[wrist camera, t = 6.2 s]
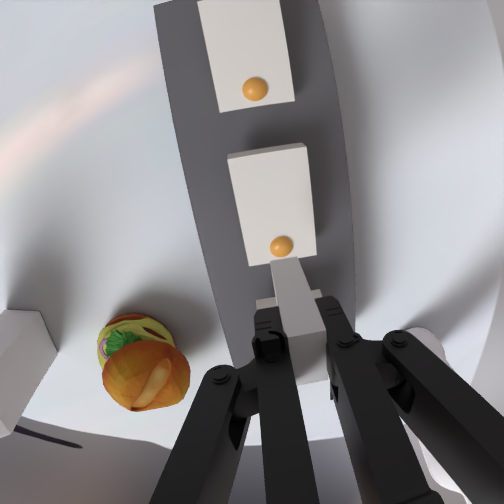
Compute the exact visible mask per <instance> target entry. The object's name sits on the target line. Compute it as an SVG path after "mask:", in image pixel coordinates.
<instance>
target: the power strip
mask: <svg viewBox="0 0 504 504" xmlns="http://www.w3.org/2000/svg"><path fill="white" fill-rule="evenodd" d="M198 1H202V0H172V1H168V2H165V3H161V4H158V5H154V13H155V20H156V27H157V33H158V40H159V46H160V52H161V58H162V64H163V69H164V75H165V81H166V86H167V92H168V97H169V102H170V108H171V113H172V118H173V123H174V128H175V133H176V138H177V143H178V147H179V152H180V157H181V162H182V166H183V171H184V175H185V180H186V184H187V189H188V193H189V198H190V202H191V206H192V211H193V215H194V219H195V223H196V227H197V232H198V236H199V240H200V244H201V248H202V252H203V256H204V260H205V264H206V268H207V272H208V275H209V279H210V283H211V287H212V291H213V294H214V298H215V302H216V306H217V309H218V313H219V316H220V320H221V324H222V327H223V331H224V334H225V338H226V341H227V345H228V348H229V352H230V355H231V359H232V362H233V365H234V368H236V369H238V368H241V367H243V366H245V365H247V364H249V363H250V362H251V361H252V360H253V359H254V358H255V356H254V351H253V347H252V338H253V337H254V336H255V328H254V315H255V313H256V311H257V307H256V300H259V299H265V298H271V297H276V296H275V290H274V284H273V278H272V272H271V265H270V263H267V264H261V265H255V266H249V263H248V259H247V254H246V249H245V244H244V239H243V234H242V230H241V225H240V220H239V215H238V210H237V205H236V200H235V195H234V191H233V186H232V181H231V176H230V171H229V166H228V161H227V157H228V154H232V153H237V152H243V151H249V150H254V149H260V148H267V147H273V146H280V145H286V144H293V143H301V142H302V143H303V144H304V145H305V146H306V147H307V155H308V164H309V173H310V182H311V192H312V203H313V214H314V225H315V238H316V251H317V255H314V256H308V257H302V258H298V260H299V262H300V265H301V267H302V270H303V272H304V275H305V277H306V280H307V282H308V285H309V287H310V290H311V291H312V290H317V289H320V291H321V294H322V297H325V296H330V295H331V296H333V297H334V298H336V299H337V300H338V301H339V303H340V305H341V307H342V309H343V311H344V313H345V315H346V317H347V319H348V321H349V323H350V325H351V327H352V329H353V331H354V332H355V269H354V244H353V226H352V211H351V198H350V187H349V177H348V167H347V158H346V149H345V141H344V134H343V127H342V120H341V113H340V106H339V100H338V94H337V88H336V82H335V77H334V72H333V66H332V61H331V56H330V51H329V47H328V42H327V37H326V33H325V28H324V24H323V20H322V16H321V12H320V8H319V4H318V0H279V3H280V8H281V14H282V19H283V25H284V31H285V37H286V43H287V49H288V56H289V62H290V69H291V76H292V83H293V90H294V98H295V101H292V102H284V103H277V104H269V105H263V106H256V107H250V108H244V109H238V110H233V111H227V112H222V113H220V111H219V106H218V101H217V96H216V91H215V87H214V82H213V77H212V72H211V67H210V62H209V57H208V53H207V48H206V43H205V38H204V33H203V28H202V23H201V18H200V13H199V9H198V4H197V2H198Z"/></svg>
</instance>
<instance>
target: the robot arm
mask: <svg viewBox="0 0 504 504" xmlns="http://www.w3.org/2000/svg"><path fill="white" fill-rule="evenodd" d="M270 265H271V272H272V278H273V284H274V290H275V296H276V302H277V306H275V307H269V308H263V309H258V310H257V311H256V313H255V315H254V328H255V336H254V337H253V338H252V347H253V351H254V356H255V358H254V359H253V360H252V361H251V362H250V363H249V364H247V365H245V366H243V367H241V368H238V369H236V368H234V367H233V366H230V365H218V366H215V367H213V368H211V369H210V370H208V371H207V372H206V374H205V375H204V377H203V380H202V382H201V384H200V387H199V389H198V391H197V394H196V396H195V398H194V401H193V403H192V405H191V408H190V410H189V412H188V414H187V417H186V419H185V421H184V424H183V426H182V428H181V431H180V433H179V435H178V438H177V440H176V442H175V445H174V447H173V449H172V451H171V454H170V456H169V458H168V461H167V463H166V465H165V468H164V470H163V472H162V475H161V477H160V479H159V481H158V484H157V486H156V488H155V491H154V493H153V495H152V497H151V500H150V502H149V504H227V503H228V500H229V496H230V493H231V489H232V486H233V482H234V479H235V475H236V472H237V468H238V464H239V461H240V457H241V454H242V450H243V446H244V442H245V439H246V435H247V431H248V427H249V424H250V420H251V416H252V415H255V414H257V413H259V415H260V428H261V441H262V454H263V465H264V478H265V491H266V503H267V504H320V503H319V498H318V492H317V487H316V482H315V476H314V471H313V466H312V461H311V456H310V450H309V446H308V440H307V435H306V430H305V425H304V420H303V415H302V410H301V405H300V400H299V395H298V390H297V386H298V385H303V384H308V383H313V382H318V381H323V380H328V375H329V378H330V400H333V399H334V403H335V406H336V409H337V413H338V416H339V420H340V423H341V427H342V430H343V434H344V437H345V441H346V444H347V448H348V451H349V455H350V459H351V462H352V466H353V469H354V473H355V477H356V480H357V484H358V488H359V492H360V495H361V500H362V504H444V501H443V499H442V498H441V496H440V495H439V493H437V492H436V491H433V490H431V489H430V488H429V486H428V484H427V481H426V479H425V476H424V473H423V471H422V469H421V466H420V464H419V461H418V459H417V456H416V454H415V452H414V449H413V447H412V444H411V442H410V440H409V437H408V435H407V433H406V430H405V428H404V426H403V424H402V421H401V419H400V417H401V418H402V419H403V421H404V422H405V423H406V424H407V425H408V427H409V428H410V429H411V430H412V431H413V433H414V434H415V435H416V436H417V437H418V439H419V440H420V441H421V442H422V443H423V445H424V446H425V447H426V448H427V450H428V451H429V452H430V453H431V454H432V456H433V457H434V458H435V459H436V460H437V462H438V463H439V464H440V465H441V466H442V468H443V469H444V470H445V471H446V473H447V474H448V475H449V476H450V477H451V479H452V480H453V481H454V482H455V483H456V485H457V486H458V487H459V488H460V490H461V491H462V492H463V493H464V494H465V496H466V497H467V498H468V499H469V501H470V502H471V503H472V504H504V417H503V416H502V415H501V414H500V413H499V412H498V411H497V410H496V409H495V408H494V407H492V406H491V405H490V404H489V403H488V402H487V401H486V400H485V399H484V398H483V397H481V395H480V394H478V393H477V392H476V391H475V390H474V389H473V388H472V387H471V386H470V385H469V384H468V383H467V382H465V381H464V380H463V379H462V378H461V377H460V376H459V375H458V374H457V373H456V372H454V371H453V370H452V369H451V368H450V367H449V366H448V365H447V364H446V363H444V362H443V361H442V360H441V359H440V358H439V357H438V356H437V355H435V354H434V353H433V352H432V351H431V350H430V349H429V348H427V347H426V346H425V345H424V344H423V343H422V342H421V341H419V340H418V339H417V338H416V337H415V336H414V335H412V334H411V333H409V332H408V331H404V330H394V331H391V332H389V333H387V334H386V335H385V336H384V338H383V340H381V341H372V340H365V339H362V337H361V336H360V335H359V334H358V333H356V332H354V331H353V329H352V327H351V325H350V323H349V321H348V319H347V317H346V315H345V313H344V311H343V309H342V307H341V305H340V303H339V301H338V300H337V299H336V298H334V297H333V296H331V295H330V296H325V297H320V298H315V299H314V297H313V295H312V292H311V290H310V287H309V285H308V282H307V280H306V277H305V275H304V272H303V270H302V267H301V265H300V262H299V260H298V257H297V256H295V257H290V258H284V259H278V260H273V261H270ZM399 416H400V417H399Z"/></svg>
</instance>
